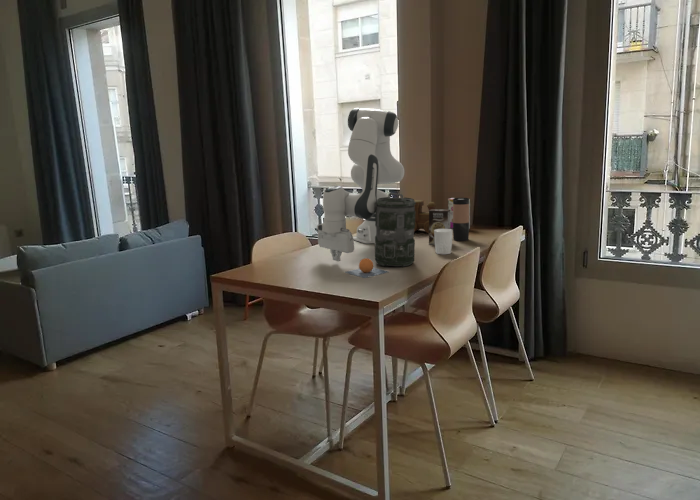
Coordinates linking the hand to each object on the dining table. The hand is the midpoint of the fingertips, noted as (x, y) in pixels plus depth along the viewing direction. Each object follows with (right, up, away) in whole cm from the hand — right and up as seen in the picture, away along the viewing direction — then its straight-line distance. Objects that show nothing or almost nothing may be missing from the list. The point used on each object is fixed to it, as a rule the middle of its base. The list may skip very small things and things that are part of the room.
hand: (336, 260), depth 217 cm
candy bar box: (+64, +15, +72) cm, 98 cm away
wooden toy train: (+44, +14, +67) cm, 82 cm away
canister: (+23, -1, -2) cm, 24 cm away
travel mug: (+59, +9, +42) cm, 73 cm away
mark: (+12, -4, -14) cm, 19 cm away
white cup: (+46, +3, +14) cm, 48 cm away
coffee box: (+48, +7, +34) cm, 59 cm away
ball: (+12, -2, -15) cm, 19 cm away
